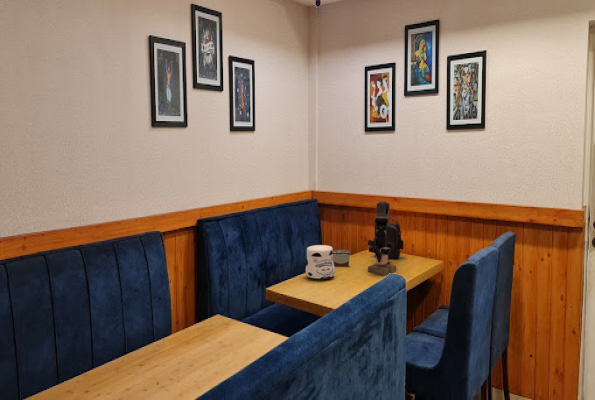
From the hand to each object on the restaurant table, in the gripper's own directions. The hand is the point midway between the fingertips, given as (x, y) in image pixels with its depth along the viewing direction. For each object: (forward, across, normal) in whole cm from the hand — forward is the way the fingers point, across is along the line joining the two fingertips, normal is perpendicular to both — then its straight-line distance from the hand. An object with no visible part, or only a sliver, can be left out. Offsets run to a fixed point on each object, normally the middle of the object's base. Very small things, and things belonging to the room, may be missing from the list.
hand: (381, 261), depth 284 cm
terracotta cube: (+1, 0, 0) cm, 1 cm away
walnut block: (+7, 0, 0) cm, 7 cm away
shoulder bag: (+7, -31, -18) cm, 36 cm away
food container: (+7, +6, -28) cm, 29 cm away
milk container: (+7, +33, -20) cm, 39 cm away
